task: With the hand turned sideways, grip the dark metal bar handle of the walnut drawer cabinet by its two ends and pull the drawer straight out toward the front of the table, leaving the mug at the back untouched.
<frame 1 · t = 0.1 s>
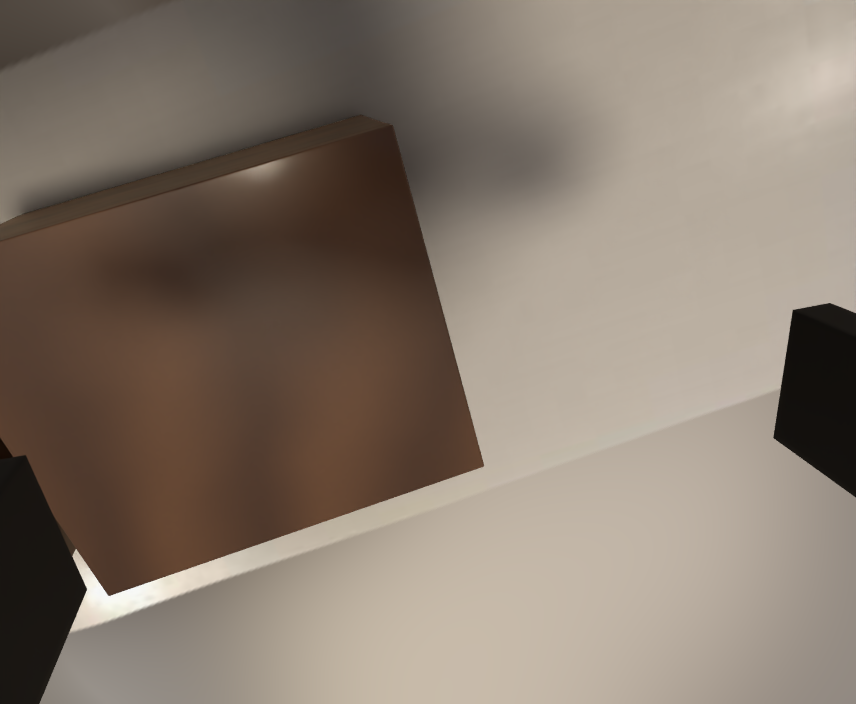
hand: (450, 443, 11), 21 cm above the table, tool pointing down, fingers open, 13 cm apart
cabinet: (252, 300, 30), on the table
drawer: (100, 382, 25), point 5 cm above the table, slide at 2.0 cm
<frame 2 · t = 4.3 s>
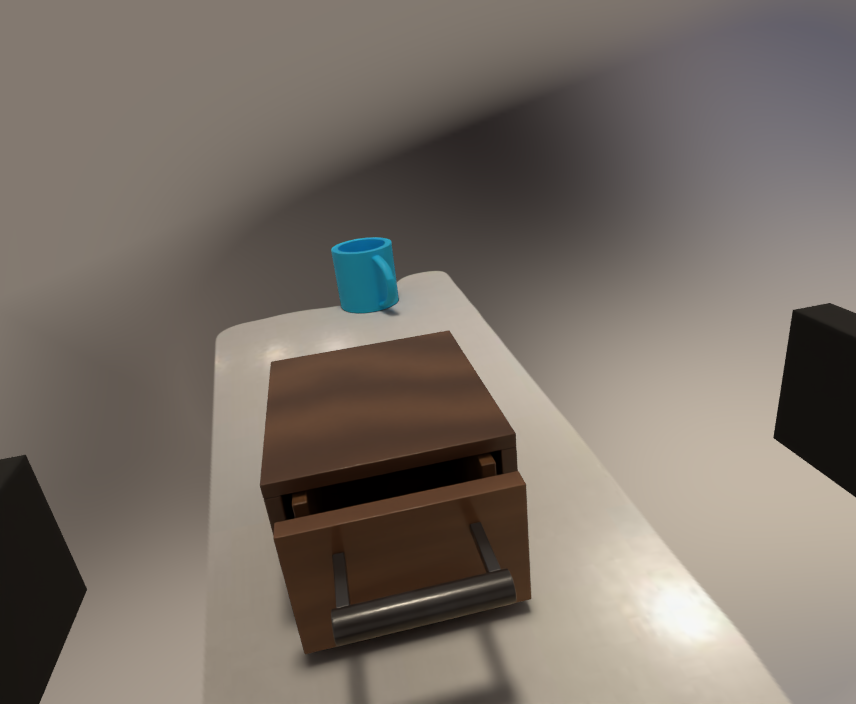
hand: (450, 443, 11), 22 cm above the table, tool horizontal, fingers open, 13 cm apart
mug: (376, 306, 83), on the table
cabinet: (393, 512, 43), on the table
drawer: (398, 512, 35), point 5 cm above the table, slide at 2.0 cm
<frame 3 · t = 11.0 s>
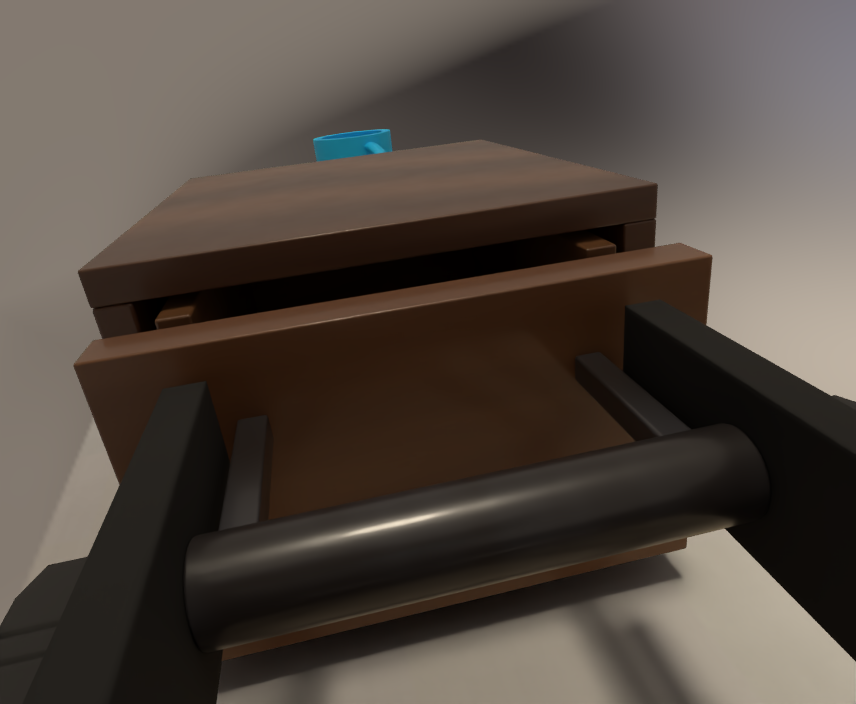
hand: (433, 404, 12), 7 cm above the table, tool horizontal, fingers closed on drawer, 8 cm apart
mug: (371, 216, 66), on the table
cabinet: (392, 419, 25), on the table
drawer: (402, 380, 18), point 5 cm above the table, slide at 2.0 cm, touching gripper
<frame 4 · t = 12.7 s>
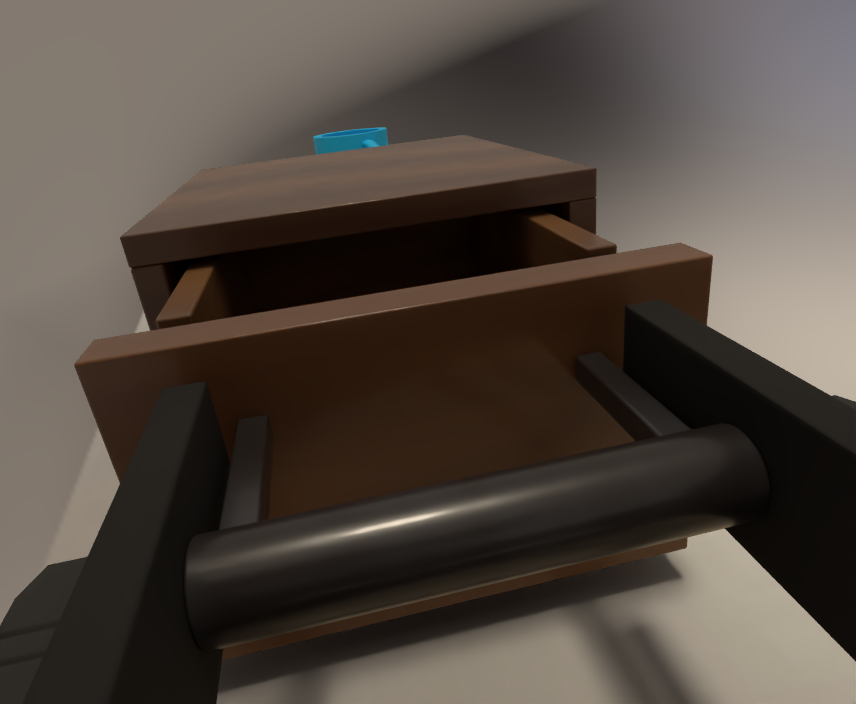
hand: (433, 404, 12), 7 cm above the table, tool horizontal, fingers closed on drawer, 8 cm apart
mug: (368, 210, 69), on the table
cabinet: (382, 383, 28), on the table
drawer: (402, 379, 18), point 5 cm above the table, slide at 5.5 cm, touching gripper
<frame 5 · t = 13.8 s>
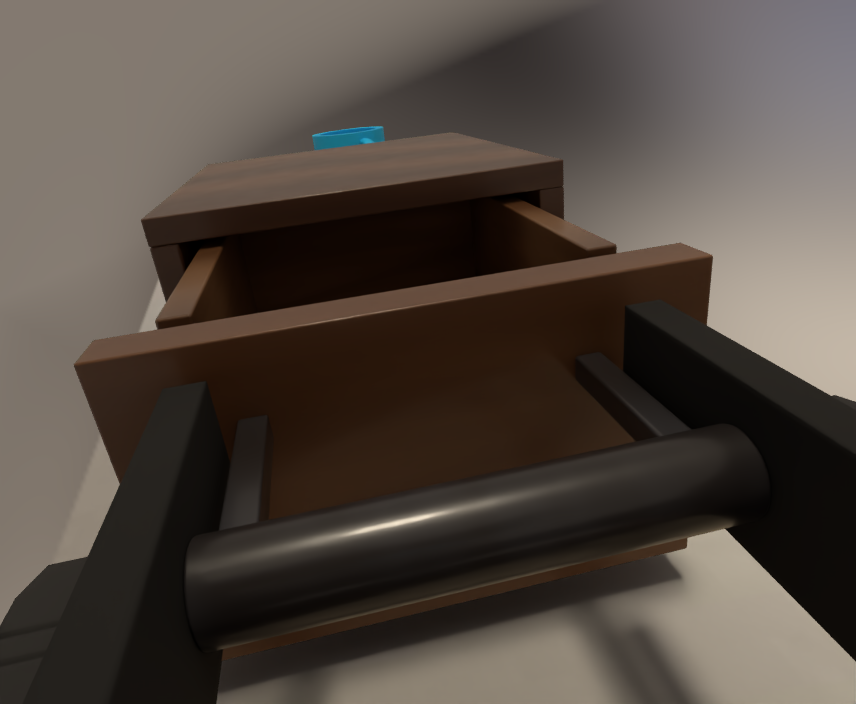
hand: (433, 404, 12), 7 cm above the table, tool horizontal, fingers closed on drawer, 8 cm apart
mug: (366, 206, 71), on the table
cabinet: (375, 362, 31), on the table
drawer: (402, 379, 18), point 5 cm above the table, slide at 8.0 cm, touching gripper
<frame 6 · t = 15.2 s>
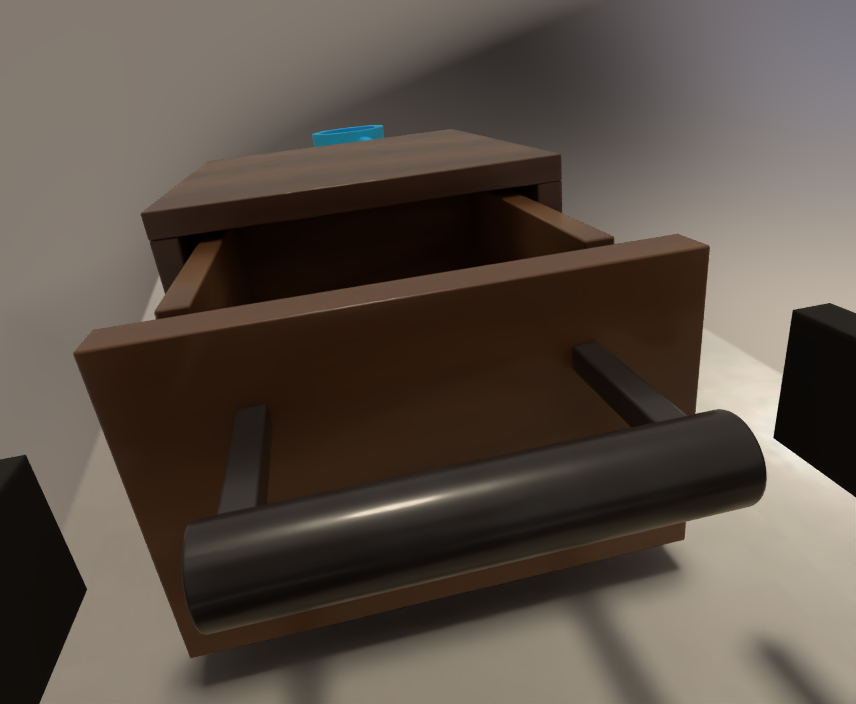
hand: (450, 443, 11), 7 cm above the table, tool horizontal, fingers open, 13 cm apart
mug: (365, 205, 71), on the table
cabinet: (375, 358, 31), on the table
drawer: (401, 372, 18), point 5 cm above the table, slide at 8.0 cm
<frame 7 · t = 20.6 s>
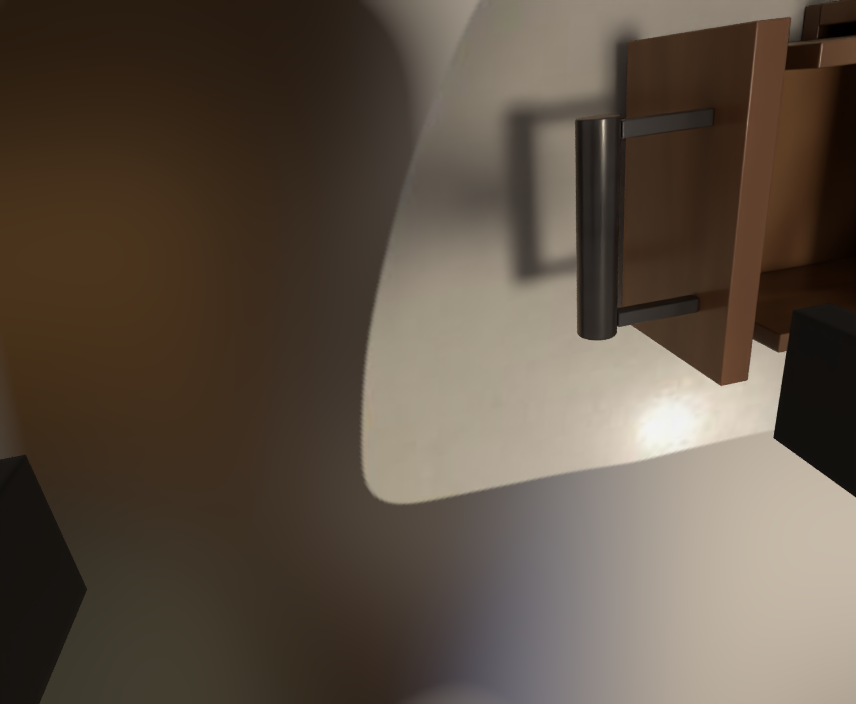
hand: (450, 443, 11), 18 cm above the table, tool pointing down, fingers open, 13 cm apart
drawer: (778, 190, 25), point 5 cm above the table, slide at 8.0 cm
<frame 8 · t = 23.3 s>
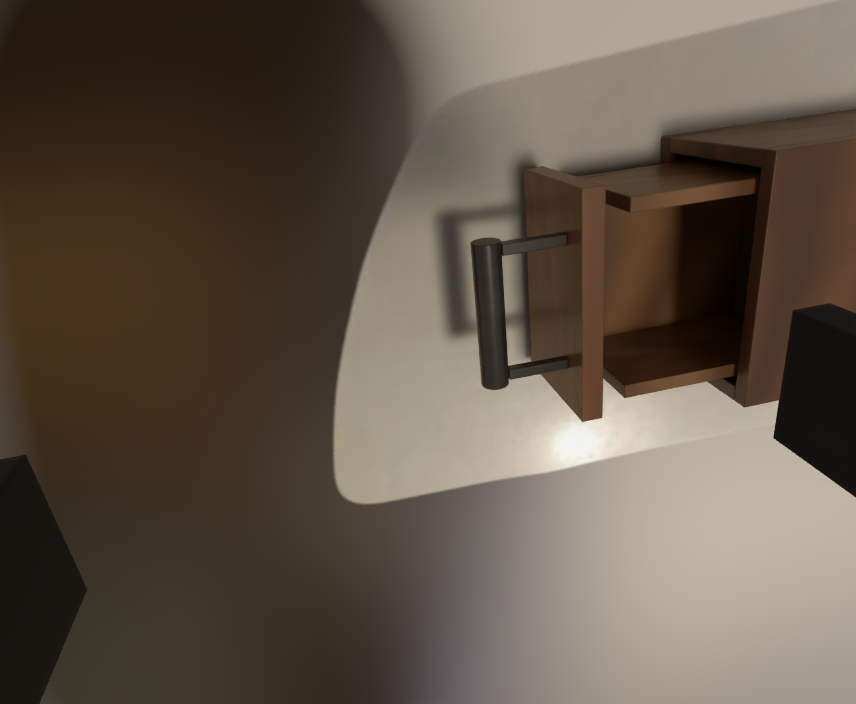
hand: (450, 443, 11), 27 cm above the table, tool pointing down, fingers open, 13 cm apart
cabinet: (763, 229, 41), on the table
drawer: (631, 278, 35), point 5 cm above the table, slide at 8.0 cm
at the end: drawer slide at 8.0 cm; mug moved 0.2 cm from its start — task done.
